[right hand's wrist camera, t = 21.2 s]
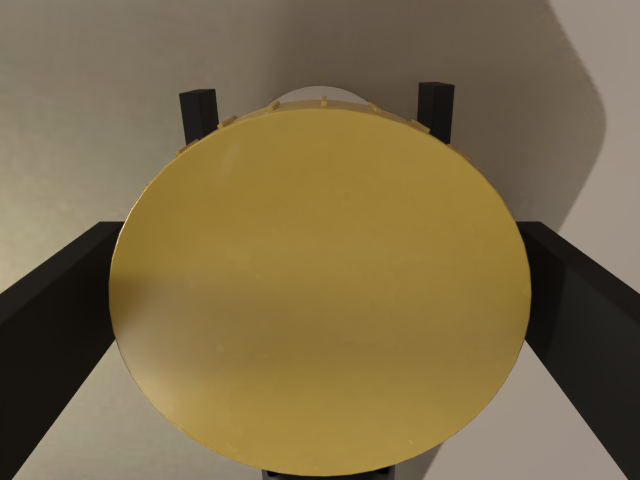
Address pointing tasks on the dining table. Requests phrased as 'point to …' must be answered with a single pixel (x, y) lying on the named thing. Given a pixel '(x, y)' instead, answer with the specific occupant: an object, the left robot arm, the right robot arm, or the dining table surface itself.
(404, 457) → the lid
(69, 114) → the dining table surface
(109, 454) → the dining table surface
